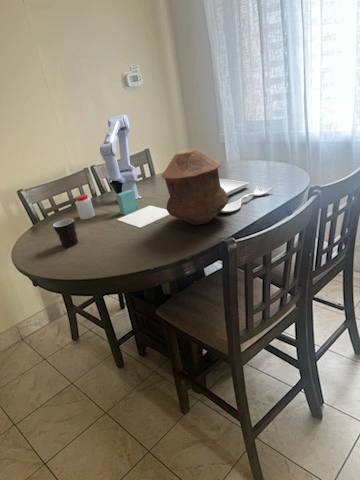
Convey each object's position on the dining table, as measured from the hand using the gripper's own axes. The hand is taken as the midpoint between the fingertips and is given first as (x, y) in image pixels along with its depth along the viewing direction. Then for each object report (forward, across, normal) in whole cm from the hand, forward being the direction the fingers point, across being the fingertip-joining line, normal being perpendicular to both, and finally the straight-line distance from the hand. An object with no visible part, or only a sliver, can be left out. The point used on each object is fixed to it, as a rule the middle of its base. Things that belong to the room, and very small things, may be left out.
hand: (119, 195), depth 174 cm
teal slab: (+8, +6, 0) cm, 10 cm away
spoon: (+8, +52, +33) cm, 63 cm away
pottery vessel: (+8, +49, +8) cm, 50 cm away
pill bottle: (+8, -11, -15) cm, 20 cm away
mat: (+8, +20, 0) cm, 21 cm away
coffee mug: (+8, +16, -37) cm, 41 cm away
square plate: (+8, +28, +37) cm, 47 cm away
